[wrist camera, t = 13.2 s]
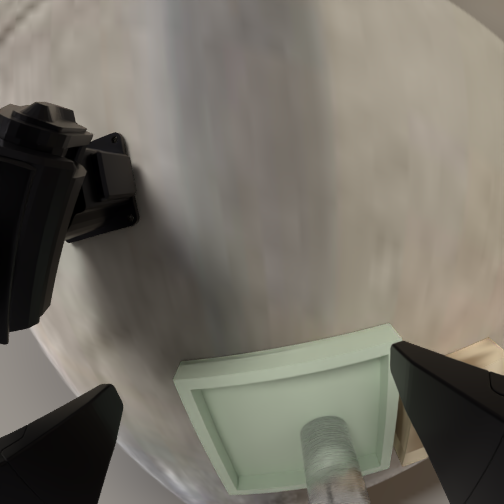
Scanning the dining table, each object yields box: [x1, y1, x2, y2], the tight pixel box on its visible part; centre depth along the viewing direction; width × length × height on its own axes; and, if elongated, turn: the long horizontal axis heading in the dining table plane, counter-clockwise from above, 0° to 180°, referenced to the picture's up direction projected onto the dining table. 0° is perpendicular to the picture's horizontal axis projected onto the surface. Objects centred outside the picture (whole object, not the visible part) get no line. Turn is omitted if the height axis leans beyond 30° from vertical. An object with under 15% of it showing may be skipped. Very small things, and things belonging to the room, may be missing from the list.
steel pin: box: [300, 416, 371, 504], centre depth 16 cm, size 4×4×13 cm
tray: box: [173, 323, 402, 495], centre depth 22 cm, size 16×16×2 cm
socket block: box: [393, 337, 504, 467], centre depth 21 cm, size 10×10×4 cm
